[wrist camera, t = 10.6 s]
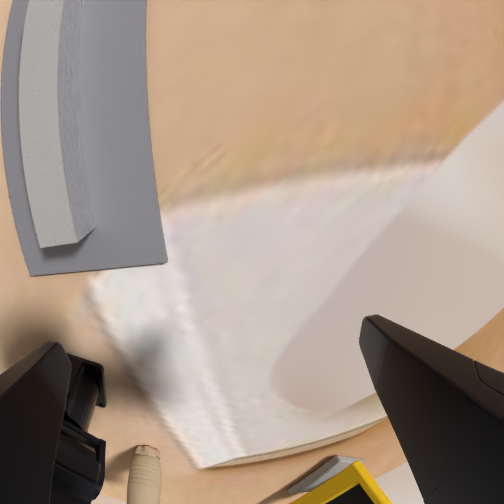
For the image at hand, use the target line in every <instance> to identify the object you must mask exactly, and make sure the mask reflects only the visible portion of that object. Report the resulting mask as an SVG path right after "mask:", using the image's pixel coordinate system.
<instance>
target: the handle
mask: <svg viewBox="0 0 504 504" xmlns="http://www.w3.org/2000/svg"><path fill="white" fill-rule="evenodd" d="M135 454H136V456H135V457H134V458H133V461H132V464H131V468H130V472H129V478H128V486H127V504H159V502H160V494H161V464H160V452H159V451H158V450H157V449H154V448H151V447H149V446H147V445H145V446H138V447H137V448H136V451H135Z"/></svg>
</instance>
